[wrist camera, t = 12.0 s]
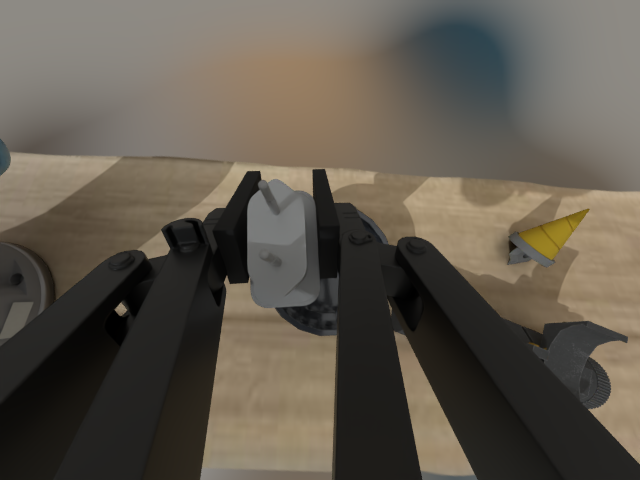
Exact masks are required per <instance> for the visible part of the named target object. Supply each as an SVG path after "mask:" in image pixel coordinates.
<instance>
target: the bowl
mask: <svg viewBox="0 0 640 480" xmlns="http://www.w3.org/2000/svg"><path fill="white" fill-rule="evenodd" d="M357 212H358V214H359V216H360V218H361V221H362V223H363V225H364V228H365V230H366V231H368V232H370V233H371V234H373V235H374V237H375V239H376V241H377V242H379V243H383V244H388V241H387V239H386V236H385V235H384V233H383V232H382V231H381V230H380V228H379V227H378V226H377V225H376V224H375V222H374V221H373V220H372V219H371V218H369V217H368V216H366V215H365V214H363V213H362V212H360V211H359V210H357ZM388 245H389V244H388ZM319 275H320V271H319ZM338 283H339V275H337V278H328V279H320V292H319V295H318V297H317V299H316V300H315V301H314V302H312V303H311V304H308V305H305V306H291V307H275V309H276V310H277V311H278V313H279V314H280V316H281V317H282V318H284V319H285V320H287V321H288V322H289V323H291V324H292V325H293V326H295V327H296V328H298V329H299V330H302V331H306V332H309V333H312V334H315V335H319V336H330V335H337V312H338Z"/></svg>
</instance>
